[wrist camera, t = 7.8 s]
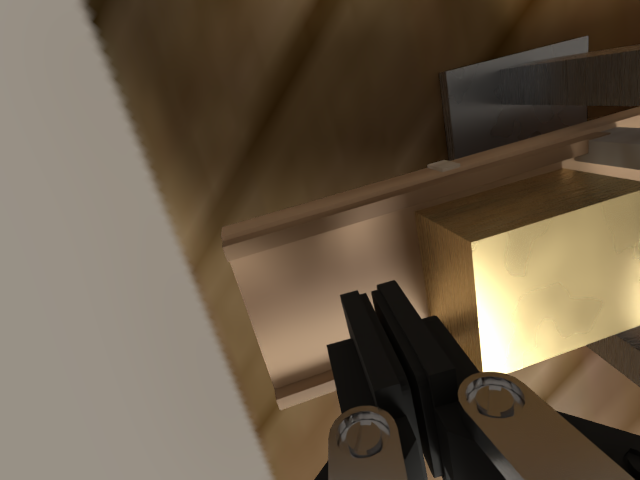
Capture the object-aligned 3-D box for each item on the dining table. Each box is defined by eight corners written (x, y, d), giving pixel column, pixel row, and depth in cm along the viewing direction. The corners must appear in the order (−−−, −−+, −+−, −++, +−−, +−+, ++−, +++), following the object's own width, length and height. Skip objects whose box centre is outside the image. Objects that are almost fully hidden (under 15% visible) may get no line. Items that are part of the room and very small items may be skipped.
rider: (414, 211, 14) (471, 242, 10) (562, 168, 14) (659, 184, 11) (430, 324, 15) (484, 381, 12) (562, 280, 16) (646, 323, 13)
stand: (438, 72, 19) (664, 33, 8) (575, 38, 19) (972, -45, 8) (465, 302, 23) (630, 471, 13) (575, 271, 23) (828, 413, 13)
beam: (221, 223, 14) (215, 282, 9) (847, 43, 17) (1079, 17, 12) (276, 384, 16) (295, 494, 11) (811, 199, 20) (992, 226, 15)
